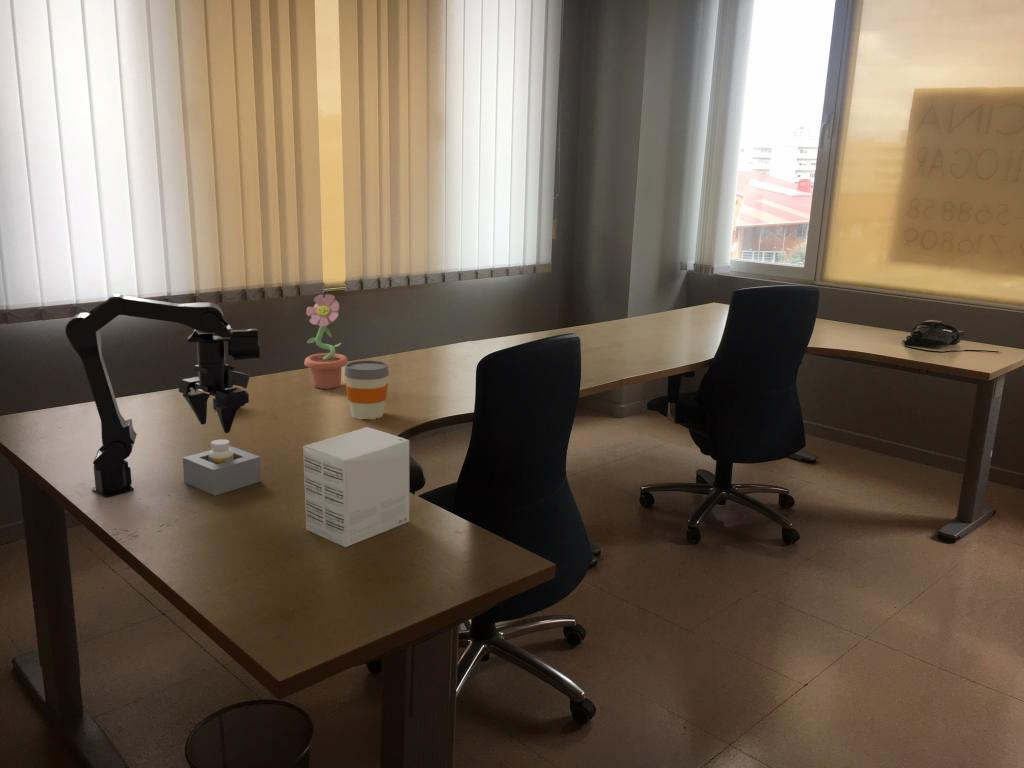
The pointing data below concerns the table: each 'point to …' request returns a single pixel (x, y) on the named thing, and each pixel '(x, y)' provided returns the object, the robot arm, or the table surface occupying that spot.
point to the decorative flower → (325, 345)
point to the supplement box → (356, 485)
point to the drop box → (221, 472)
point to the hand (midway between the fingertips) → (215, 428)
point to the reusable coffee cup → (366, 388)
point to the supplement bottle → (220, 452)
